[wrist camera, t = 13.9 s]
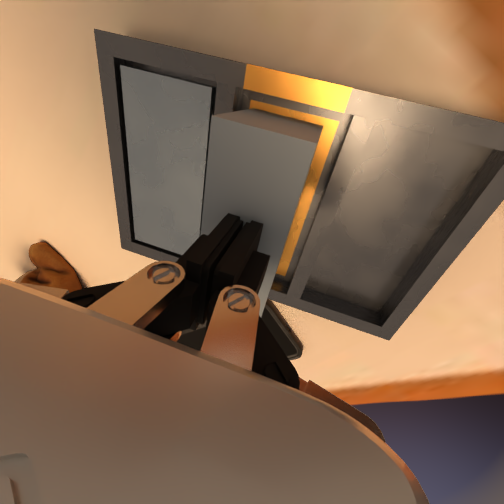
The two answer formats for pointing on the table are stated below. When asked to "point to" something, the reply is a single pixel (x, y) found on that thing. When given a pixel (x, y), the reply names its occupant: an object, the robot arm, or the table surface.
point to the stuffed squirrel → (50, 269)
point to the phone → (272, 321)
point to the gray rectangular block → (258, 176)
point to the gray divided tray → (317, 183)
